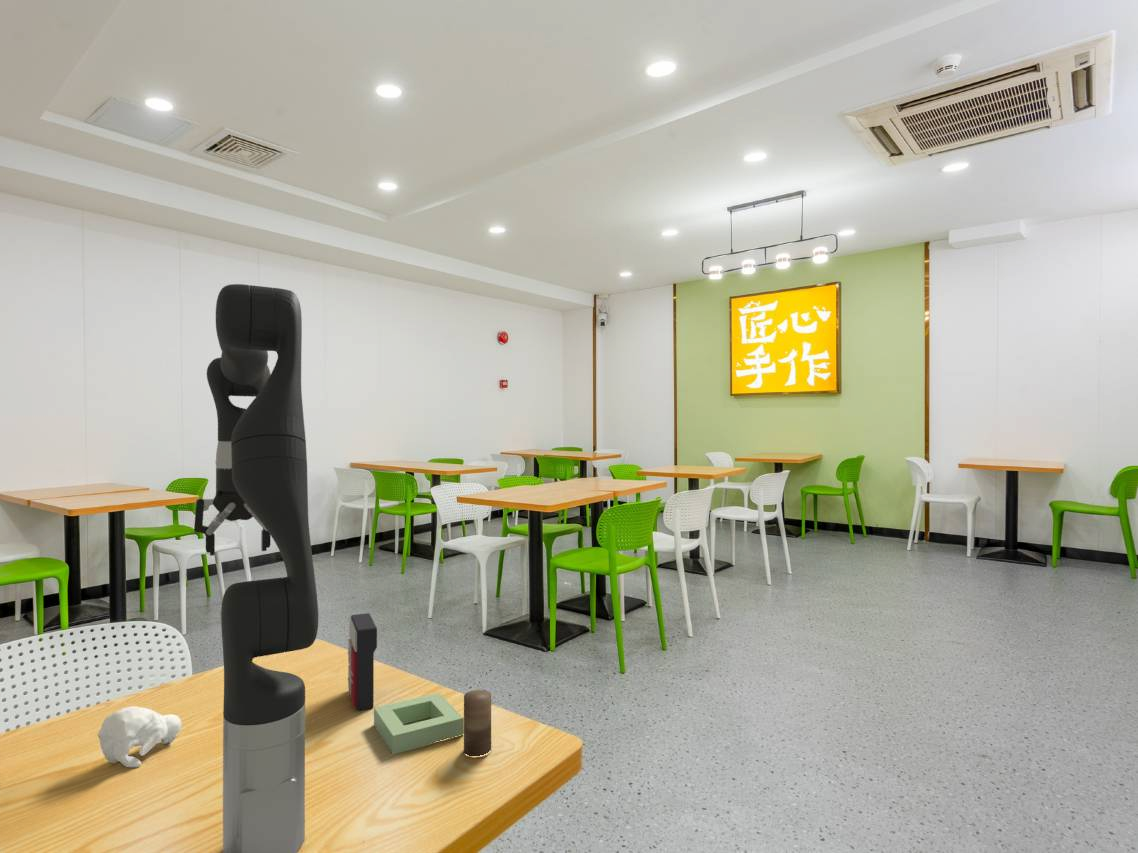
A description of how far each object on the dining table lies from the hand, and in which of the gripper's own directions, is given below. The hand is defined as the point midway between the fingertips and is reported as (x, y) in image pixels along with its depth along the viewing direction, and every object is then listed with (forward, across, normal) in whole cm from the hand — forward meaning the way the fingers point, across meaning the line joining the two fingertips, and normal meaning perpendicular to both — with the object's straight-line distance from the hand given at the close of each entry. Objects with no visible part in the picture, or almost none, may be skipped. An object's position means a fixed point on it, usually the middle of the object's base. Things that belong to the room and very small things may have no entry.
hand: (238, 552), depth 117 cm
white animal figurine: (+30, -14, -10) cm, 34 cm away
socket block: (+29, +26, -25) cm, 46 cm away
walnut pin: (+29, +32, -37) cm, 57 cm away
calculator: (+30, +21, -7) cm, 37 cm away
